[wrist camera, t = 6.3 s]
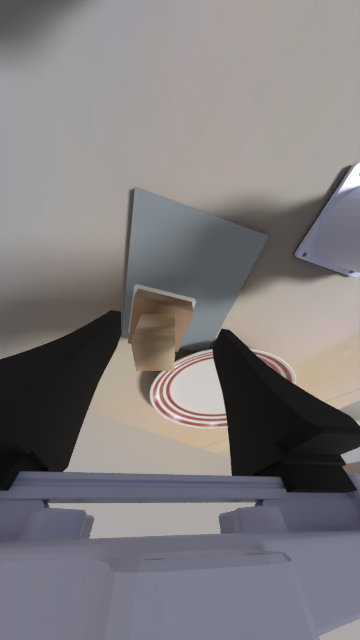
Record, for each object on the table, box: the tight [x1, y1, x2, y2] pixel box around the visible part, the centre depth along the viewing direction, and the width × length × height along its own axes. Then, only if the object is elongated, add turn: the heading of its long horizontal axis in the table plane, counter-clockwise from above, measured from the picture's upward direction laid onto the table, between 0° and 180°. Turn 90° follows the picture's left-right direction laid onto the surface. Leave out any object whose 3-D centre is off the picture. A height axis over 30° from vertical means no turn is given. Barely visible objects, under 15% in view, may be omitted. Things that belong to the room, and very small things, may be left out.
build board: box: [121, 187, 269, 352], centre depth 19 cm, size 14×18×1 cm
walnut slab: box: [128, 289, 194, 352], centre depth 20 cm, size 7×7×2 cm
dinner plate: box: [150, 348, 296, 429], centre depth 30 cm, size 27×27×3 cm
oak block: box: [131, 314, 175, 371], centre depth 17 cm, size 4×4×5 cm
